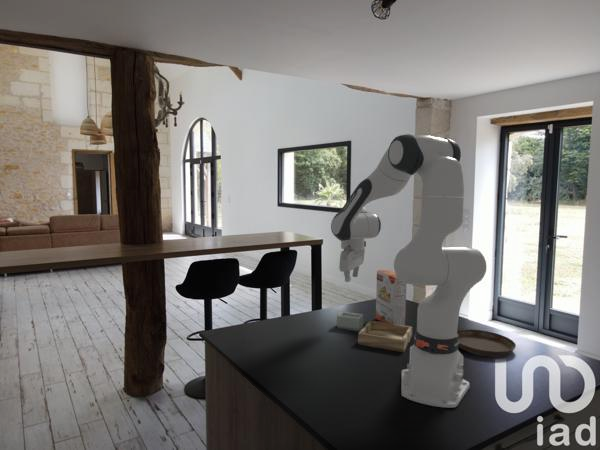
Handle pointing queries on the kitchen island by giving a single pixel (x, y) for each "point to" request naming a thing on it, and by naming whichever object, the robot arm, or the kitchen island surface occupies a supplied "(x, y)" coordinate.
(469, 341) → the plant saucer
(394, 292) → the cracker box
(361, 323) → the box
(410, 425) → the kitchen island surface
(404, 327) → the big crate
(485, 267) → the robot arm
